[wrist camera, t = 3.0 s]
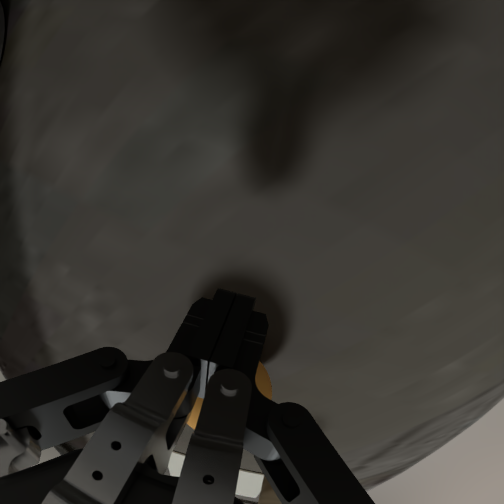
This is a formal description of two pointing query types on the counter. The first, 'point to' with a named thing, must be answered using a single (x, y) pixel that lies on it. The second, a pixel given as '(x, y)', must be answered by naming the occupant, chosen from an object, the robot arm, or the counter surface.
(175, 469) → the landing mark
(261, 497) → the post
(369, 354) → the counter surface
